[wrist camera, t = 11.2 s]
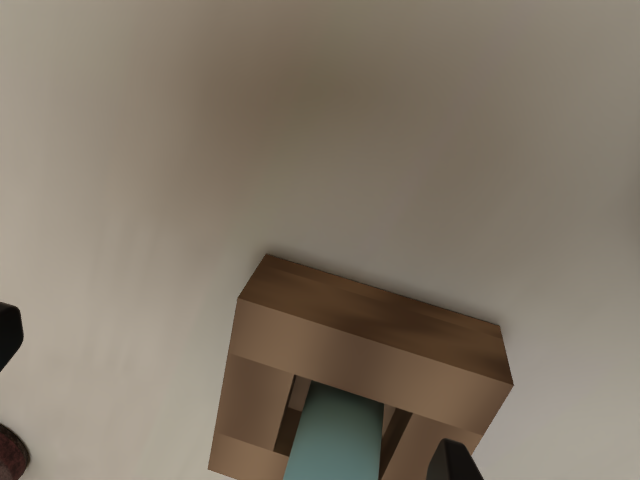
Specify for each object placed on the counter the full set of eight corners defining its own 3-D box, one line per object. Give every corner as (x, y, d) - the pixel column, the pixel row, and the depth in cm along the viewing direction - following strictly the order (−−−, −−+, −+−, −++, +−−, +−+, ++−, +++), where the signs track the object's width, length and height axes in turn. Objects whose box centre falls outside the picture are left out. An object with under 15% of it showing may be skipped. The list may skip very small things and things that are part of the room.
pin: (373, 424, 26) (356, 581, 19) (304, 402, 26) (262, 549, 19) (394, 372, 24) (385, 526, 17) (320, 349, 24) (279, 491, 17)
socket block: (499, 326, 22) (513, 385, 19) (419, 475, 28) (418, 542, 25) (265, 254, 23) (237, 297, 20) (233, 413, 29) (207, 469, 25)
